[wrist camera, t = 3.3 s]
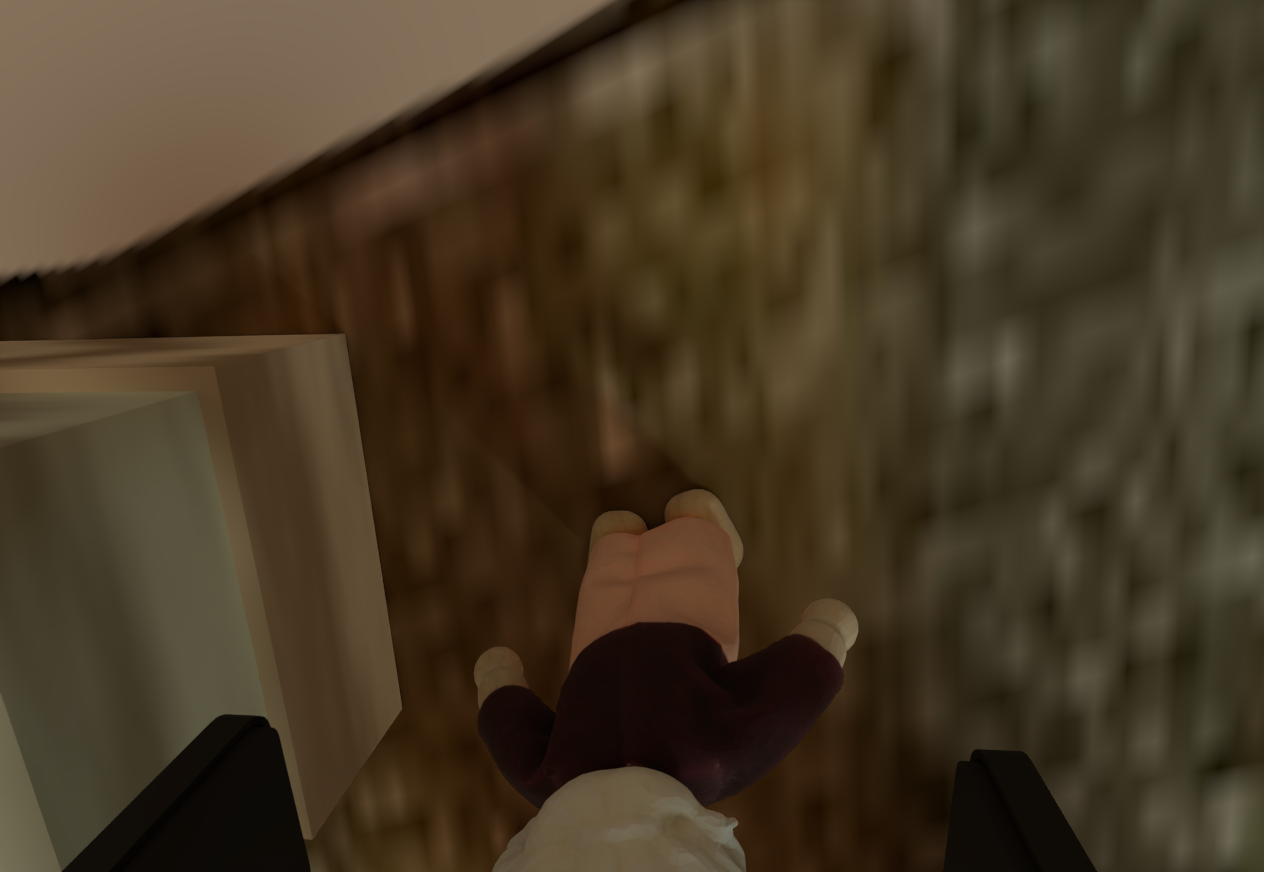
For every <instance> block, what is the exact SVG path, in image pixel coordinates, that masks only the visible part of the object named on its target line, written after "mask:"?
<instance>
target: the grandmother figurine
mask: <svg viewBox="0 0 1264 872" xmlns="http://www.w3.org/2000/svg"><path fill="white" fill-rule="evenodd" d="M664 515H665V524H663V525H661V526H659V527H656V528H653V529H651V530H649V531H648V529H647V526H646V524H645V522H644V521H643V519H642V518H641V517H639V516H638V515H637V514H635V513H633V512H630V511H608V512H605V513H603V514H601V515H600V516H599V517H598V518H597V519H596V520H595V522H594V524H593V527H592V532H591V539H590V548H589V556H588V565H587V569H586V572H585V574H584V577H583V580H582V584H581V588H580V591H579V598H578V604H577V611H576V619H575V627H574V633H573V639H572V646H571V657H570V663H569V674H568V677H567V679H566V681H565V683H564V684H563V686H562V689H561V693H560V698H559V701H558V704H557V708H556V714H555V713H554V712H553V711H552V710H551V709H550V708H549V707H548V706H546V705H545V704H544V703H543V702H542V701H541V699H540V698H539V697H538V696H536V695H535V693H534V692H533V691H532V690H530V689H529V686H528V682H527V680H526V679H525V677H524V676H523V665H522V662H521V660H520V658H519V656H518V655H517V654H516V653H515V652H514V651H513V650H512V649H509V648H507V647H493V648H490V649H489V650H487V651H485V652H484V653H483V654H482V655H481V656H480V657H479V659H478V660H477V662H476V665H475V669H474V679H475V683H476V685H477V687H478V705H479V714H478V731H479V734H480V736H481V737H482V739H483V741H484V742H485V744H486V745H487V747H488V750H489V751H490V753H491V755H492V757H493V759H494V761H495V763H496V764H497V766H498V768H499V770H500V772H501V773H502V775H503V776H504V777H505V778H506V780H507V781H508V782H509V783H510V784H511V785H512V786H513V787H514V788H515V789H516V790H517V791H518V792H519V793H520V794H521V795H523V796H524V797H525V798H526V799H527V800H529V801H530V802H531V803H532V804H533V805H535V806H536V807H537V808H538V809H540V811H539V813H538V814H537V816H536V817H533V818H532V819H531V820H530V821H529V822H528V823H527V825H526V826H525V827H524V829H522V830H521V831H520V832H519V833H517V834H516V835H515V836H514V837H513V838H512V839H511V840H510V841H509V843H508V845H507V850H505V851H504V852H503V853H502V855H501V856H500V857H499V859H498V860H497V862H496V863H495V865H494V867H493V869H492V872H746V862H745V854H744V851H743V849H742V847H741V845H740V843H739V842H738V840H737V839H736V838H735V836H734V835H733V828H735V827H736V826H737V825H738V821H737V820H736V819H735V818H734V817H733V818H727V817H725V816H724V815H723V814H722V813H719V812H716V811H713V810H709V809H705V808H704V806H707V805H710V804H712V803H715V802H717V801H720V800H723V799H725V798H727V797H730V796H733V795H736V794H738V793H739V792H741V791H743V790H745V789H747V788H748V787H749V786H751V785H752V784H754V783H755V782H757V781H758V780H760V779H761V778H762V777H763V776H765V775H766V774H767V773H768V772H769V771H771V770H772V769H773V768H774V767H775V766H776V765H777V764H778V763H779V762H780V761H781V760H783V759H784V758H785V757H786V756H787V755H788V754H789V753H790V752H791V751H792V749H793V748H794V747H795V746H796V745H797V744H798V743H799V742H800V740H801V739H802V738H803V737H804V736H805V734H806V733H807V732H808V731H809V730H810V728H811V727H812V726H813V724H814V723H815V722H816V720H817V719H818V718H819V716H820V715H821V714H822V713H823V711H824V710H825V709H826V708H827V707H828V705H829V704H830V703H831V701H832V700H833V698H834V697H835V695H836V694H837V693H838V691H839V690H840V689H841V686H842V684H843V678H844V674H843V670H842V667H843V664H844V662H845V659H846V651H847V650H848V649H850V648H851V646H852V645H853V644H854V643H855V640H856V637H857V634H858V621H857V619H856V616H855V614H854V613H853V612H852V610H851V609H850V608H849V607H848V605H846V604H845V603H843V602H841V601H839V600H836V599H832V598H822V599H818V600H815V601H813V602H812V603H810V604H809V605H808V606H807V607H806V609H805V610H804V612H803V614H802V616H801V622H800V624H798V625H797V626H795V627H794V628H793V630H792V631H791V632H790V634H789V635H788V636H787V637H784V638H782V639H781V640H780V641H778V642H775V643H773V644H771V645H770V646H769V647H767V648H766V649H764V650H761V651H759V652H757V653H754V654H752V655H750V656H748V657H746V658H744V659H741V660H737V657H738V650H739V606H738V595H739V581H738V574H737V568H738V567H739V565H740V563H741V561H742V558H743V544H742V541H741V538H740V536H739V534H738V532H737V530H736V529H735V527H734V525H733V523H732V522H731V520H730V518H729V516H728V515H727V513H726V511H725V509H724V507H723V505H722V504H721V502H720V500H719V499H718V498H717V497H716V496H715V495H714V494H712V493H711V492H709V491H706V490H703V489H693V490H689V491H685V492H682V493H680V494H678V495H676V496H674V497H673V498H671V499H670V501H669V502H668V503H667V506H666V508H665V513H664Z"/></svg>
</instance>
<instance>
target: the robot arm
mask: <svg viewBox="0 0 1264 872" xmlns="http://www.w3.org/2000/svg"><path fill="white" fill-rule="evenodd" d="M62 872H311V871H310V864H309V860H308V855H307V851H306V847H305V843H304V838H303V834H302V830H301V826H300V822H299V817H298V813H297V809H296V805H295V800H294V796H293V792H292V788H291V783H290V779H289V775H288V771H287V767H286V762H285V758H284V754H283V750H282V745H281V741H280V737H279V734H278V731H277V730H276V729H275V728H273V727H271V726H270V724H269V721H268V720H267V719H266V718H265V717H263V716H255V715H233V714H224V715H221V716H218V717H217V718H215V719H214V720H213V721H212V722H211V723H210V724H209V725H208V726H207V727H206V728H205V729H204V730H203V731H202V732H201V733H200V734H199V735H198V736H197V737H196V738H195V739H194V740H193V741H192V742H191V743H190V744H189V745H188V746H187V747H186V748H185V749H184V750H183V751H182V752H181V753H180V754H179V755H178V756H177V757H176V758H175V759H174V760H173V761H172V762H171V763H170V764H169V765H168V766H167V767H166V768H165V769H164V770H163V771H162V772H161V773H160V774H159V775H158V776H157V777H156V778H155V779H154V780H153V781H152V782H151V783H150V784H149V785H148V786H147V787H146V788H145V789H144V790H143V791H142V792H141V793H140V794H139V795H138V796H137V797H136V798H135V799H134V800H133V801H132V802H131V803H130V804H129V805H128V806H127V807H126V808H125V809H124V810H123V811H122V812H121V813H120V814H119V815H118V816H117V817H116V818H115V819H114V820H113V821H112V822H111V823H110V824H109V825H108V826H107V827H106V828H105V829H104V830H103V831H102V832H101V833H100V834H99V835H98V836H97V837H96V838H95V839H94V840H93V841H92V842H91V843H90V844H89V845H88V846H87V847H86V848H85V849H84V850H83V851H82V852H81V853H80V854H79V855H78V856H77V857H76V858H75V859H74V860H73V861H72V862H71V863H70V864H69V865H68V866H67V867H66V868H65V869H64V870H63V871H62ZM943 872H1097V871H1096V869H1095V868H1094V866H1093V864H1092V863H1091V861H1090V859H1089V857H1088V856H1087V854H1086V852H1085V851H1084V849H1083V847H1082V846H1081V844H1080V842H1079V841H1078V839H1077V837H1076V835H1075V834H1074V832H1073V830H1072V829H1071V827H1070V825H1069V824H1068V822H1067V820H1066V819H1065V817H1064V815H1063V813H1062V812H1061V810H1060V808H1059V807H1058V805H1057V803H1056V802H1055V800H1054V798H1053V797H1052V795H1051V793H1050V791H1049V790H1048V788H1047V786H1046V785H1045V783H1044V781H1043V780H1042V778H1041V776H1040V775H1039V773H1038V771H1037V769H1036V768H1035V766H1034V764H1033V763H1032V761H1031V760H1030V758H1029V757H1028V756H1027V754H1025V753H1024V752H1022V751H1002V750H980V749H977V750H974V751H973V752H972V754H971V758H970V761H959V762H958V764H957V768H956V774H955V782H954V790H953V798H952V806H951V815H950V823H949V831H948V839H947V847H946V855H945V863H944V871H943Z"/></svg>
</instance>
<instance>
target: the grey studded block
mask: <svg viewBox="0 0 1264 872" xmlns="http://www.w3.org/2000/svg"><path fill="white" fill-rule="evenodd" d="M401 710H402V703H401V696H400V690H399V683H398V676H397V670H396V663H395V657H394V650H393V644H392V637H391V631H390V624H389V618H388V611H387V605H386V598H385V591H384V585H383V578H382V572H381V565H380V559H379V552H378V546H377V539H376V533H375V526H374V519H373V513H372V506H371V500H370V493H369V487H368V480H367V474H366V467H365V461H364V454H363V448H362V441H361V434H360V428H359V421H358V415H357V408H356V402H355V395H354V389H353V382H352V376H351V369H350V362H349V356H348V349H347V343H346V336H345V334H304V335H259V336H214V337H169V338H124V339H79V340H34V341H0V872H62V871H63V870H64V869H65V868H66V867H67V866H68V865H69V864H70V863H71V862H72V861H73V860H74V859H75V858H76V857H77V856H78V855H79V854H80V853H81V852H82V851H83V850H84V849H85V848H86V847H87V846H88V845H89V844H90V843H91V842H92V841H93V840H94V839H95V838H96V837H97V836H98V835H99V834H100V833H101V832H102V831H103V830H104V829H105V828H106V827H107V826H108V825H109V824H110V823H111V822H112V821H113V820H114V819H115V818H116V817H117V816H118V815H119V814H120V813H121V812H122V811H123V810H124V809H125V808H126V807H127V806H128V805H129V804H130V803H131V802H132V801H133V800H134V799H135V798H136V797H137V796H138V795H139V794H140V793H141V792H142V791H143V790H144V789H145V788H146V787H147V786H148V785H149V784H150V783H151V782H152V781H153V780H154V779H155V778H156V777H157V776H158V775H159V774H160V773H161V772H162V771H163V770H164V769H165V768H166V767H167V766H168V765H169V764H170V763H171V762H172V761H173V760H174V759H175V758H176V757H177V756H178V755H179V754H180V753H181V752H182V751H183V750H184V749H185V748H186V747H187V746H188V745H189V744H190V743H191V742H192V741H193V740H194V739H195V738H196V737H197V736H198V735H199V734H200V733H201V732H202V731H203V730H204V729H205V728H206V727H207V726H208V725H209V724H210V723H211V722H212V721H213V720H214V719H215V718H217V717H218V716H221V715H224V714H233V715H255V716H263V717H265V718H266V719H267V720H268V721H269V724H270V726H271V727H273V728H275V729H276V730H277V731H278V734H279V737H280V741H281V745H282V750H283V754H284V758H285V762H286V767H287V771H288V775H289V779H290V783H291V788H292V792H293V796H294V800H295V805H296V809H297V813H298V817H299V822H300V826H301V830H302V834H303V838H304V839H310V840H313V838H314V837H315V835H316V834H317V833H318V831H319V830H320V828H321V827H322V825H323V824H324V822H325V821H326V819H327V818H328V816H329V815H330V814H331V812H332V811H333V809H334V808H335V806H336V805H337V803H338V802H339V800H340V799H341V797H342V796H343V795H344V793H345V792H346V790H347V789H348V787H349V786H350V784H351V783H352V781H353V780H354V779H355V777H356V776H357V774H358V773H359V771H360V770H361V768H362V767H363V765H364V764H365V762H366V761H367V760H368V758H369V757H370V755H371V754H372V752H373V751H374V749H375V748H376V746H377V745H378V743H379V742H380V741H381V739H382V738H383V736H384V735H385V733H386V732H387V730H388V729H389V727H390V726H391V724H392V723H393V722H394V720H395V719H396V717H397V716H398V714H399V713H400V711H401Z"/></svg>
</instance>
